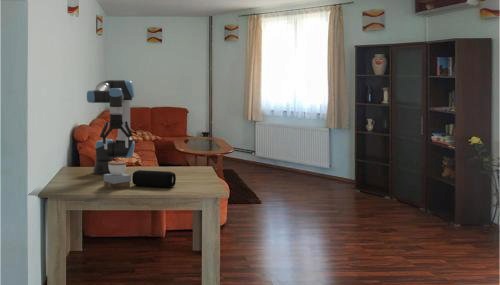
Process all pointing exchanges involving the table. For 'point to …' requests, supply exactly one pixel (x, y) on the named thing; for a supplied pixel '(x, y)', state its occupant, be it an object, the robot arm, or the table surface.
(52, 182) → the table surface
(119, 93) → the robot arm
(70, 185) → the table surface
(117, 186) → the tower base
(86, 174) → the table surface
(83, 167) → the table surface
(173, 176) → the portable speaker
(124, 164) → the lidded jar
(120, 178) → the tower top
